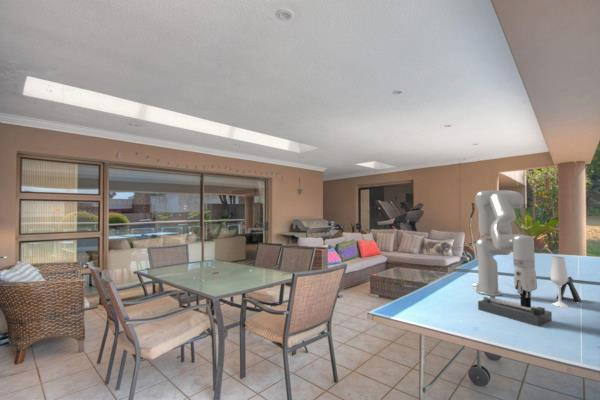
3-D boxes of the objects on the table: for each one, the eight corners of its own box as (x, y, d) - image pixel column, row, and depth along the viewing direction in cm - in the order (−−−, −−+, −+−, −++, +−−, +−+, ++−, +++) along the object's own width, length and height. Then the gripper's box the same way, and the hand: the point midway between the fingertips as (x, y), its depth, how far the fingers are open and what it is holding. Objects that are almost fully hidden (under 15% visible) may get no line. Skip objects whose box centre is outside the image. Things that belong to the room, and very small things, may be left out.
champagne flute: (572, 307, 142) (570, 258, 143) (556, 306, 144) (554, 257, 145) (563, 303, 149) (561, 256, 150) (548, 302, 150) (546, 255, 151)
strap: (487, 300, 140) (487, 298, 140) (491, 299, 142) (491, 297, 142) (531, 310, 124) (531, 308, 124) (535, 309, 126) (535, 306, 126)
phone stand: (581, 300, 154) (580, 277, 155) (579, 302, 150) (578, 279, 151) (558, 296, 161) (557, 274, 162) (556, 298, 157) (555, 276, 158)
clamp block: (478, 309, 139) (477, 297, 140) (492, 305, 145) (491, 294, 145) (538, 326, 118) (537, 312, 119) (551, 321, 124) (551, 307, 125)
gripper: (525, 266, 122) (527, 311, 120) (542, 263, 129) (544, 306, 128) (505, 263, 128) (507, 306, 127) (522, 261, 135) (524, 301, 134)
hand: (525, 306), depth 127 cm, fingers closed
